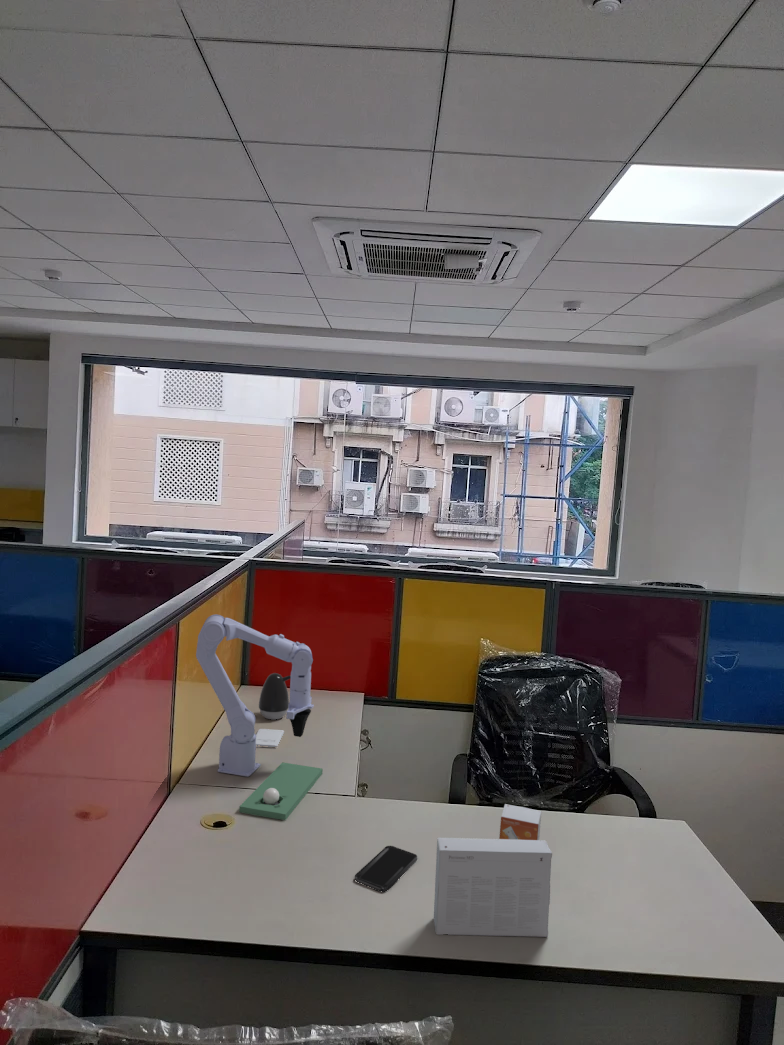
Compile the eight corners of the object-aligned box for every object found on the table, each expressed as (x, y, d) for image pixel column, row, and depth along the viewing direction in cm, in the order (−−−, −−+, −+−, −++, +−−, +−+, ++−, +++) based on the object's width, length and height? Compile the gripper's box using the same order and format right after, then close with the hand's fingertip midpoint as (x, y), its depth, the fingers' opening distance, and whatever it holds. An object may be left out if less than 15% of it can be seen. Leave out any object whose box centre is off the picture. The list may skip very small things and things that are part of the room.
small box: (496, 875, 142) (500, 816, 141) (500, 859, 148) (504, 802, 147) (534, 884, 140) (539, 823, 139) (537, 867, 146) (541, 810, 145)
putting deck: (239, 812, 163) (239, 806, 163) (282, 767, 189) (282, 762, 189) (285, 820, 160) (285, 814, 160) (322, 773, 186) (322, 768, 186)
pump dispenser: (290, 722, 224) (292, 677, 223) (258, 722, 222) (260, 678, 221) (288, 711, 234) (290, 669, 233) (257, 712, 232) (259, 669, 231)
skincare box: (541, 918, 129) (546, 839, 128) (548, 938, 123) (554, 855, 122) (432, 915, 128) (436, 835, 127) (434, 935, 122) (439, 851, 121)
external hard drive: (284, 735, 215) (276, 750, 202) (258, 733, 215) (249, 748, 202) (284, 730, 214) (277, 745, 202) (259, 728, 215) (250, 743, 202)
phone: (352, 877, 138) (388, 844, 151) (352, 882, 138) (388, 849, 151) (385, 890, 134) (419, 855, 147) (385, 895, 134) (419, 860, 147)
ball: (265, 793, 170) (264, 808, 167) (261, 786, 167) (260, 801, 164) (281, 791, 170) (280, 806, 167) (277, 784, 167) (277, 799, 164)
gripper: (304, 698, 180) (302, 747, 181) (322, 682, 194) (320, 728, 195) (280, 694, 181) (278, 743, 182) (299, 680, 196) (297, 725, 196)
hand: (298, 735), depth 189 cm, fingers closed
